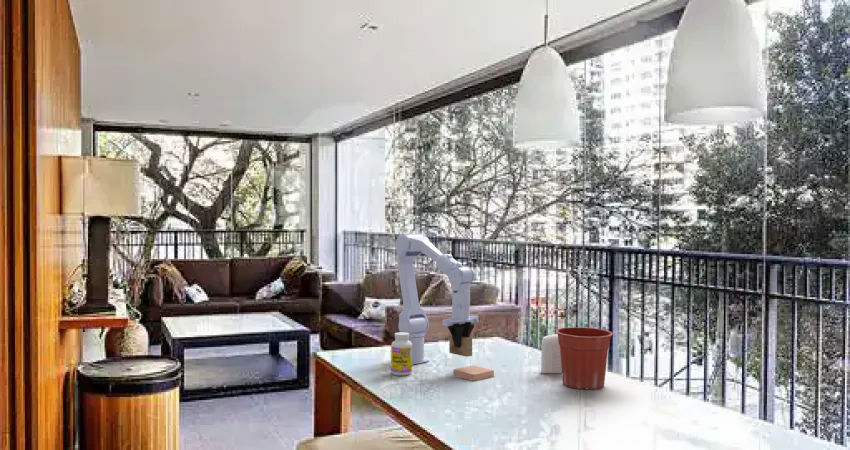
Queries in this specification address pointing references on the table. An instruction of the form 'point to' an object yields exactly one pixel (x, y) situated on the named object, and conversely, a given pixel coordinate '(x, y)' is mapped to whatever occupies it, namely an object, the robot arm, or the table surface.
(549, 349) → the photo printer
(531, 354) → the table surface
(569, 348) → the flower pot
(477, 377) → the glazed tile
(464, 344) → the bar
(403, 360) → the supplement bottle
